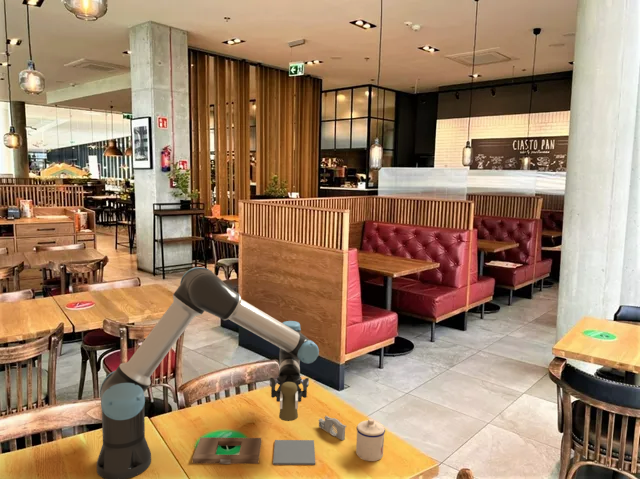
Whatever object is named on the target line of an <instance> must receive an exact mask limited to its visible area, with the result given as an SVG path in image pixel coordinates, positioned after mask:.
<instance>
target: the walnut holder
mask: <svg viewBox="0 0 640 479" xmlns="http://www.w3.org/2000/svg"><path fill="white" fill-rule="evenodd" d="M222 446H223V447H240V449H239V453H238V454H224V453H223V454H218V453H217V451H218V448H219V447H222ZM261 448H262V437H216V436H215V437H207V436H206V437H199V440H198V442H197V445H196V448H195V451H194V454H193V456H192V464H219V465H231V464H237V465H238V464H244V465H245V464H249V465H251V464H255V465H258V464H259V462H260V455H261Z"/></svg>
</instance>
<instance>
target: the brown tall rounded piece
mask: <svg viewBox="0 0 640 479" xmlns="http://www.w3.org/2000/svg"><path fill="white" fill-rule="evenodd" d="M281 392H282V394H283V402H282V409H280V408H279V413H278V414H279V415H278V418H279V419H280V420H282V421H283V422H292V421H296V420H297V419H298V418H299V414H298V409H295V394H296V392H297V385H296V384H295V383H293V382H285V383H283V384H282V386H281Z"/></svg>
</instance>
